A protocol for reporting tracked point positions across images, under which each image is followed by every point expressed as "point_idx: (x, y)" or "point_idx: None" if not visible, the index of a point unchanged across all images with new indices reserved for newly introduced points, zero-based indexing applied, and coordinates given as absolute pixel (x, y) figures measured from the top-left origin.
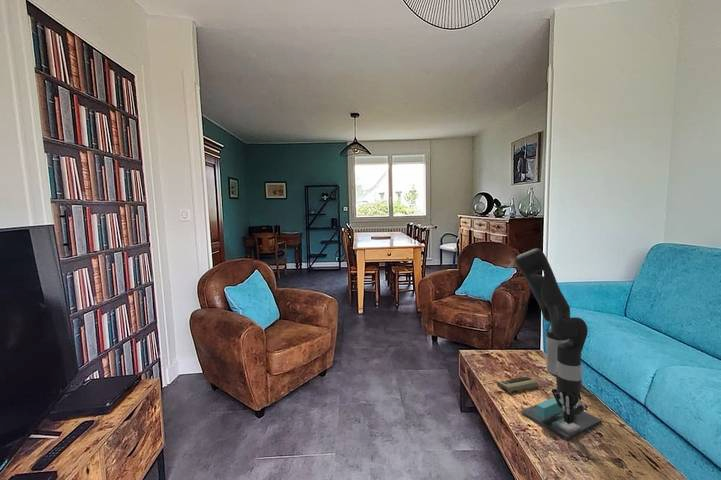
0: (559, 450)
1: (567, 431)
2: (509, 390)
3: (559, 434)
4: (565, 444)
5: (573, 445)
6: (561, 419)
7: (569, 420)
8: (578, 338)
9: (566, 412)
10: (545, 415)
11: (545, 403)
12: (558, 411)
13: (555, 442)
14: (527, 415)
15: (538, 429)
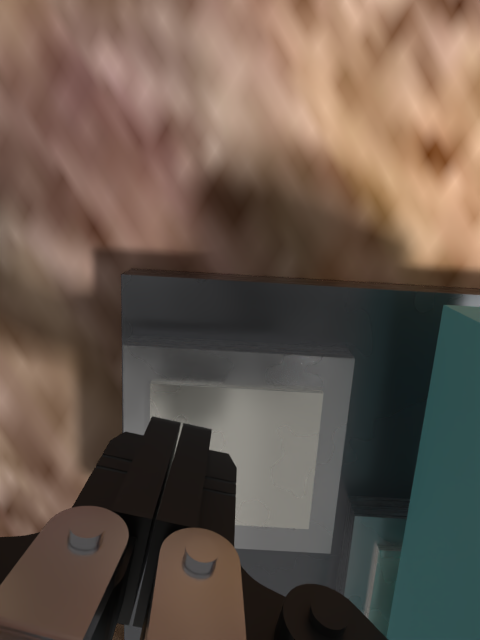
0: (68, 28)
1: (149, 345)
2: None
3: (214, 276)
4: (102, 195)
5: (54, 252)
6: (318, 501)
7: (119, 453)
8: None
9: (160, 543)
10: (457, 351)
11: None
12: (402, 589)
13: (176, 131)
14: None
15: (417, 189)
